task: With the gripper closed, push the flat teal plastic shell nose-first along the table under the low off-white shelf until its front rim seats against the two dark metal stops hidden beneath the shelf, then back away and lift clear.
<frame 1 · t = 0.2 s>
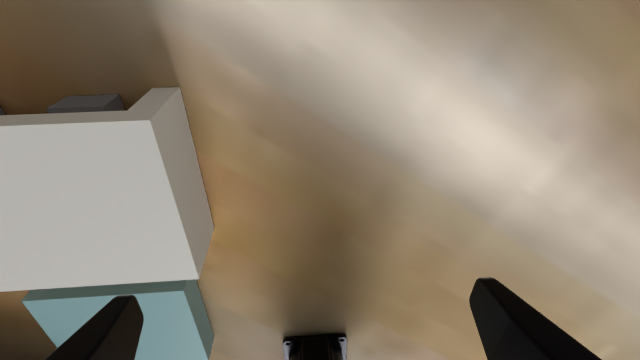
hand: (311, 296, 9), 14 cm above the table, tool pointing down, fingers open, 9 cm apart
shell: (136, 309, 30), on the table
shelf: (69, 172, 23), on the table
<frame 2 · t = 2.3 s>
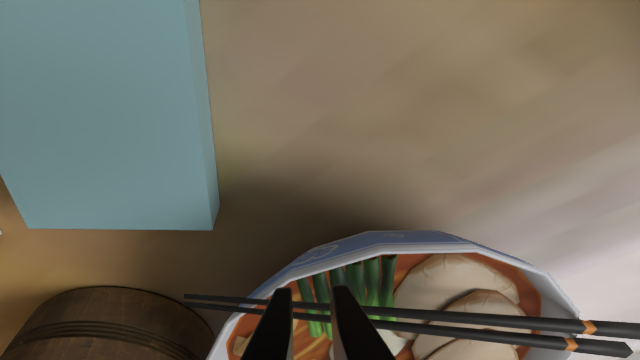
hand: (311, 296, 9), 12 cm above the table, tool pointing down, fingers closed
wooden container: (129, 340, 29), on the table
shell: (115, 113, 18), on the table
ramen bowl: (367, 284, 27), on the table
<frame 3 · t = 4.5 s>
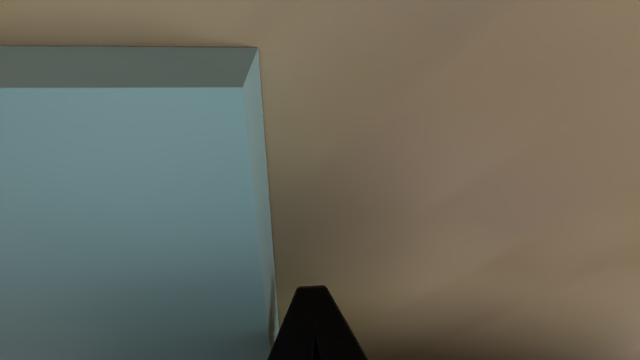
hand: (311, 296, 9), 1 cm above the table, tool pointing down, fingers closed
shell: (93, 273, 9), on the table, touching gripper
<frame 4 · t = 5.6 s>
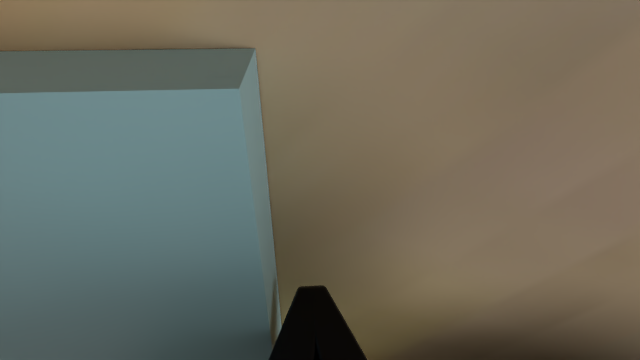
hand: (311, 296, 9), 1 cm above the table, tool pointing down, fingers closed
shell: (96, 276, 9), on the table, touching gripper
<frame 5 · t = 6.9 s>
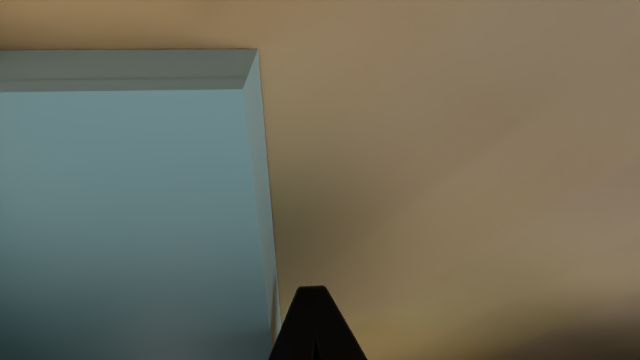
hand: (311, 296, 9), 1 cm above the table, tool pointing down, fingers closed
shell: (97, 274, 9), on the table, touching gripper
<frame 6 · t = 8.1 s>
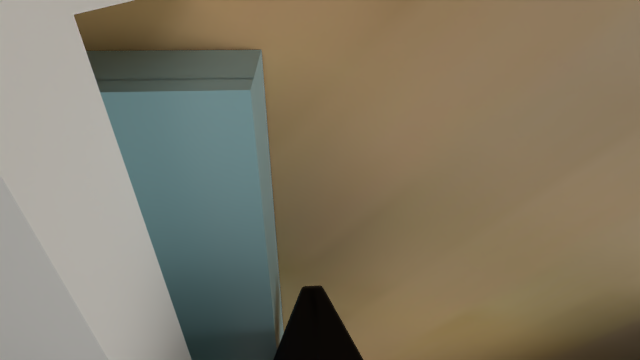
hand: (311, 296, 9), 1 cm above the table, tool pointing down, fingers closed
shell: (98, 276, 9), on the table, touching gripper
shelf: (27, 279, 9), on the table
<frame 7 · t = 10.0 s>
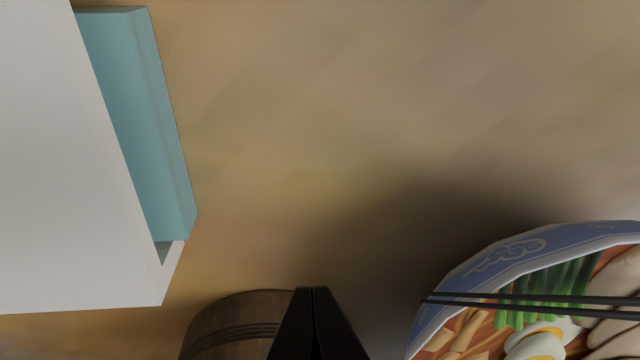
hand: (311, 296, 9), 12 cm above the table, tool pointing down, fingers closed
wooden container: (271, 341, 30), on the table
shell: (82, 130, 18), on the table
shelf: (47, 130, 18), on the table
ramen bowl: (508, 277, 28), on the table
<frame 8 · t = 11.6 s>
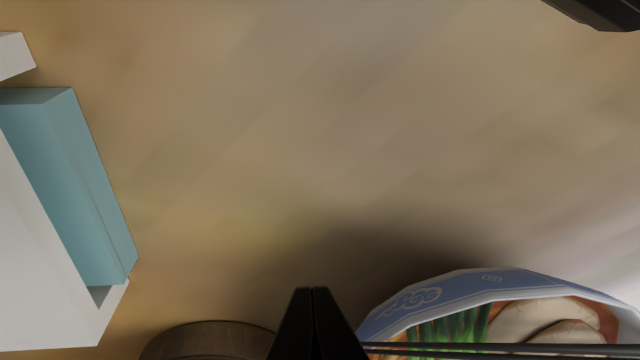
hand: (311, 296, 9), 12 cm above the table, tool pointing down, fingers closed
shell: (24, 187, 20), on the table
ramen bowl: (441, 308, 30), on the table
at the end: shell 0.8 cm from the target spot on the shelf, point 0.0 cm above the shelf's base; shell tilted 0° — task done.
